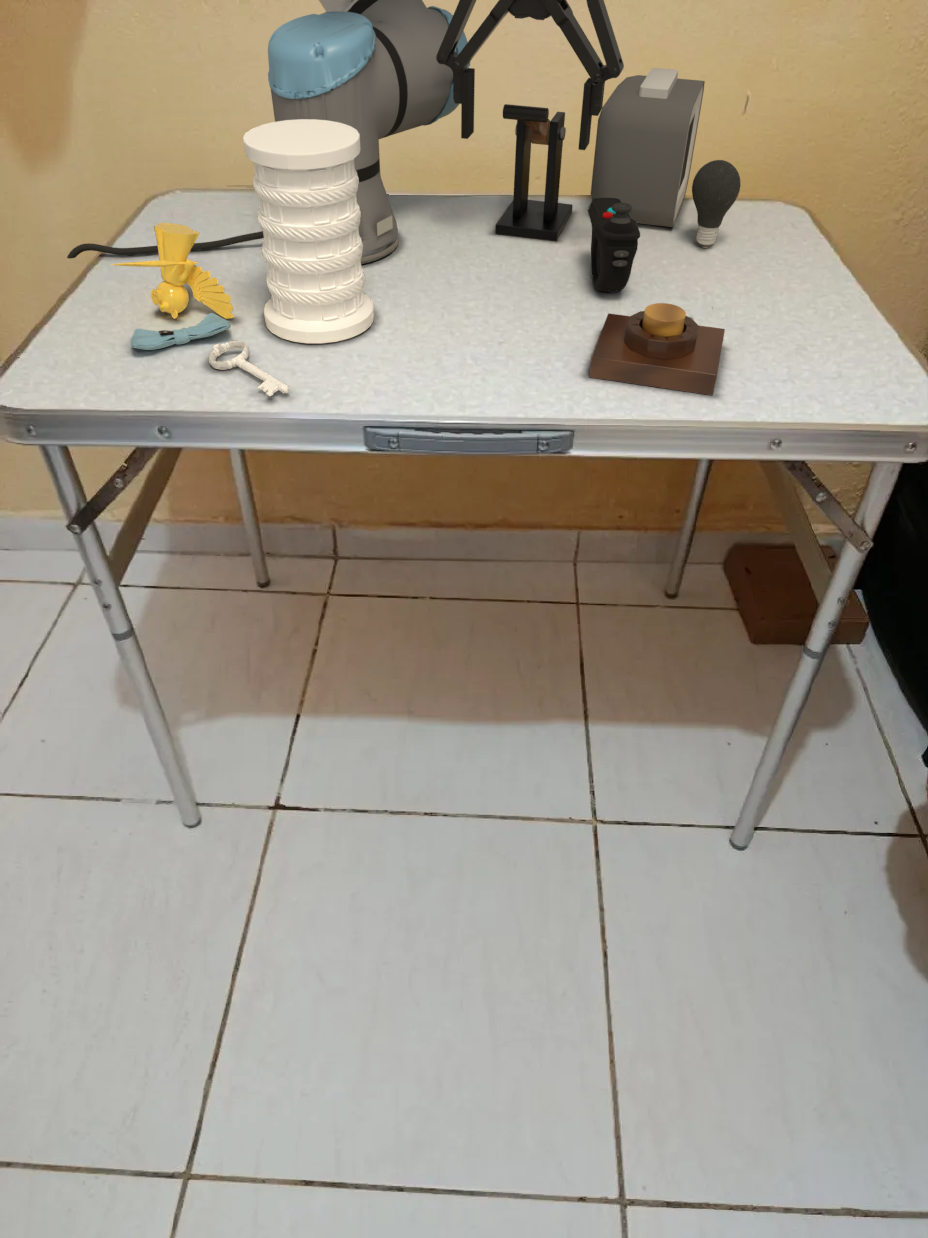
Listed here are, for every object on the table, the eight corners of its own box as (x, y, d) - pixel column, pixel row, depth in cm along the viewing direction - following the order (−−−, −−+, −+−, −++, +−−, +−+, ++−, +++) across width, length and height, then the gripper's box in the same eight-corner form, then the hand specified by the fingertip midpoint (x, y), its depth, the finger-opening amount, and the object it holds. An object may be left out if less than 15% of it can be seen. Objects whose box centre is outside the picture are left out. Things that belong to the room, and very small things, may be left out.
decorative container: (383, 298, 102) (374, 120, 90) (362, 347, 94) (349, 158, 81) (281, 292, 103) (258, 115, 91) (251, 339, 95) (222, 151, 82)
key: (197, 353, 91) (231, 332, 93) (200, 361, 92) (234, 340, 93) (268, 397, 85) (303, 374, 86) (271, 405, 86) (306, 383, 87)
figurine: (130, 244, 86) (131, 337, 90) (238, 244, 94) (233, 329, 98) (66, 212, 92) (69, 301, 96) (172, 214, 100) (171, 296, 104)
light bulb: (725, 238, 116) (742, 154, 110) (729, 256, 112) (748, 169, 106) (680, 236, 117) (694, 152, 110) (683, 254, 113) (698, 167, 106)
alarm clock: (670, 234, 117) (693, 98, 107) (583, 223, 120) (597, 89, 109) (686, 192, 129) (708, 65, 118) (606, 183, 131) (620, 58, 120)
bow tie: (130, 345, 95) (136, 360, 91) (125, 329, 94) (131, 344, 90) (226, 324, 98) (236, 338, 94) (222, 309, 97) (232, 323, 93)
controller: (595, 308, 101) (606, 215, 95) (579, 263, 110) (588, 175, 104) (634, 307, 102) (647, 214, 95) (614, 262, 111) (625, 175, 104)
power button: (639, 335, 89) (641, 317, 88) (644, 317, 92) (647, 300, 91) (680, 340, 88) (683, 323, 87) (684, 322, 91) (688, 305, 90)
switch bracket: (556, 241, 115) (565, 129, 106) (495, 233, 117) (499, 123, 108) (572, 213, 122) (581, 106, 113) (513, 206, 124) (518, 101, 115)
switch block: (589, 377, 90) (593, 339, 87) (605, 332, 97) (610, 296, 94) (712, 395, 88) (721, 357, 85) (720, 348, 95) (728, 311, 92)
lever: (544, 125, 102) (548, 101, 101) (501, 121, 103) (504, 97, 102) (560, 146, 113) (563, 124, 112) (521, 142, 114) (523, 120, 113)
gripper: (404, -96, 90) (410, 139, 104) (659, -84, 85) (629, 161, 100) (427, -104, 95) (430, 121, 110) (669, -93, 90) (638, 141, 105)
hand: (524, 140), depth 105 cm, fingers open, 13 cm apart
